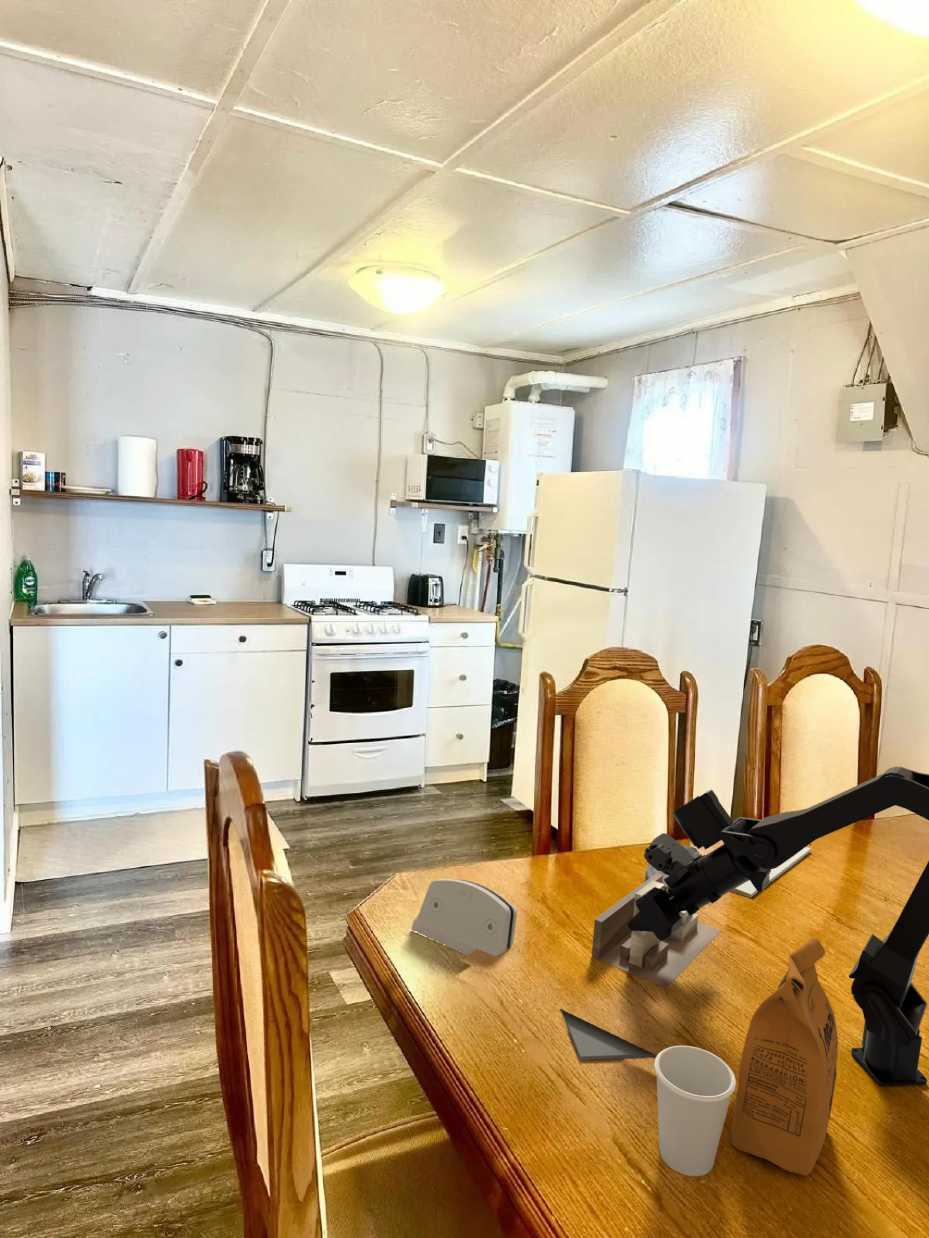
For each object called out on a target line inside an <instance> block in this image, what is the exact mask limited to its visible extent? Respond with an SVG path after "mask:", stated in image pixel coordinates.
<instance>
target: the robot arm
mask: <svg viewBox="0 0 929 1238" xmlns="http://www.w3.org/2000/svg"><path fill="white" fill-rule="evenodd" d="M892 807H900V808H902V809H905V810H906V811H907V810H908V811H909V812H912V813H913V814H915V815H917V816H919V817H921V818H923V819H925V820H927V821H929V773H925V772H923V773H922V772H918V771H915V770H912V769H908V768H906V767H903V766H893V767H890V768H888V769H886V770H885V771H884V772H882V773H881V774H879V775H877V776H875V777H872V778H870V779H868V780H866V781H864V782H862V783H860V784H858V785H856V786H855V785H854V786H853V787H851V788H849V789H847V790H844V791H843V792H840V793H838V794H836V795H834V796H831V797H830V798H827V799H824V800H822V801H821V802H818V803H817V804H814V805H812V806H810V807H807V808H804V809H800V810H792V811H785V812H781V813H776V814H773V815H770V816H765V817H764V818H762V819H757V818H749V817H743V816H739V817H737V818H736V819H734V820H733V819H732V817H731V816H730V814H729V813H728V812H727V811H726V809H725V808H724V806H723V805H722V804H721V801H720V800H719V798H718V796H717V794H715V792H714V791H713V789H709V790H707V791H706V792H704V793H703V794H701V795H697V796H696V797H694V798H693V799H691V800H690V801H688V802H687V803H684V804H683V805H682V806H680V807H679V808H677V809H676V810H674V811H672V812H671V815H672V816H673V817H674V819H675V820H676V823H678V825H679V826H680V828H681V829H682V830H683V833H685V835H686V836H687V838H688V839H689V841H690V842H691V843H692V845H693V847H695V848H696V849H697V850H700V849H701V848H704V850H707V849H709V848H711V847H713V846H714V845H716V844H717V843H719V842H721V841H722V843H723V844H722V845H719V847H717V848H715V849H713V850H712V851H710V852H709V853H707V854H704V855H703V854H701V853H700V855H699V856H697V857H693V856H692V855H691V854H690V853H689V852H688V851H687V849H685V848H684V847H683V846H684V845H682V844H681V843H679V842H678V841H677V840H676V839H675V838H673V837H672V836H671V835H670V834H668V833H664V832H662V833H661V834H659V835H658V836H656V837H655V838H653V840H652V841H651V843H650V845H649V846H648V847H646V848H645V849H644V853H643V858H644V859H645V861H646V862H647V864H650V865H651V866H653V867H654V868H655V869H656V870H657V871H662V872H663V873H664V874H666V875H669V876H668V877H666V878H665V879H664V881H665V882H666V884H667V885H668V887H667V889H666V890H665V891H664V890H662V889H659V888H656V887H654V888H652V889H651V890H649V891H647V892H646V893H644V894H643V895H642V896H640V897H639V898H638V899H637V900H635V902H636V906H637V908H638V909H639V912H638V913H637V914H636V915H635V916H634V917H633V918H632V920H631V921H630V922H629V923H628V924H627V925H628V927H629V929H630V930H631V931H649V932H653V933H654V934H655V936H656V937H657V939H659V940H661V941H662V940H664V939H665V938H667V937H669V936H671V935H672V934H673V933H674V932H675V931H676V930H677V929H679V928H680V927H681V920H682V917H681V916H680V914H679V913H680V912H681V911H687V912H688V914H689V915H690V916H691V915H693V914H697V912H698V911H700V910H701V908H703V907H705V906H707V905H708V904H714V903H716V902H718V900H720V899H721V898H722V897H723V896H724V895H726V894H728V893H729V892H731V890H733V889H735V888H737V887H738V886H740V885H742V884H744V883H745V882H747V881H749V880H750V881H751V883H752V884H753V886H754V887H755V888H756V890H757V891H758V893H762V892H763V891H764V889H766V888H767V887H768V885H770V883H769V882H770V881H769V874H770V872H771V869H774V868H777V867H779V866H780V865H781V864H783V863H784V862H786V861H787V860H789V859H790V858H791V857H793V856H794V855H796V854H797V853H798V852H800V851H801V850H802V849H804V848H805V847H808V846H810V845H809V844H810V843H811V844H812V843H813V842H814V841H816V840H818V839H821V838H824V837H826V836H827V835H830V834H832V833H834V832H835V833H836V832H837V831H840V830H841V829H844V828H846V827H849V826H850V825H853V824H855V823H857V822H859V821H862V820H864V819H867V818H869V817H871V816H874V815H875V814H876V815H877V814H878V813H880V812H883V811H885V810H888V809H890V808H892ZM899 914H900V915H899V916H898V918H897V919H896V922H895V924H894V925H893V928H892V929H891V931H890V932H889V933H888V934H887V935H886V937H884V938H883V939H882V940H881V939H880V938H879V937H877V936H876V935H875V934H874V933H873V934H871V935H870V936H869V939H868V941H867V942H866V944H865V946H864V947H863V949H862V951H861V954H860V955H859V957H858V959H857V961H856V962H855V964H854V966H853V968H852V969H851V971H850V973H849V975H848V978H849V979H853V981H852V983H851V986H850V994H851V996H852V997H853V1000H854V1001H855V1003H856V1004H857V1005H858V1007H859V1008H860V1009H861V1010H862V1011H861V1012H862V1015H863V1019H864V1026H863V1033H862V1039H861V1040H862V1041H861V1047H851V1048H850V1049H851V1050H850V1053H851V1054H852V1056H853V1057H854V1058H855V1059H856V1060H857V1061H858V1062H859V1064H861V1066H862V1067H863V1068H864V1069H865V1070H866V1071H867V1072H868V1074H869V1075H870V1076H871V1077H872V1078H873V1079H874V1081H875V1082H877V1083H878V1085H881V1086H883V1087H885V1086H886V1087H889V1086H905V1085H906V1086H908V1085H926V1084H928V1078H927V1077H926V1076H925V1075H924V1074H923V1073H922V1072H921V1071H920V1070H919V1062H920V1056H921V1055H920V1054H921V1048H922V1041H923V1037H922V1036H921V1035H920V1033H921V1031H920V1027H921V1024H922V1020H923V1018H924V1015H925V1012H926V1010H927V1007H928V1003H927V1001H926V1000H925V998H923V996H922V994H921V993H920V992H919V991H918V990H917V988H916V987H915V985H914V984H913V983H912V980H913V977H914V974H915V970H916V967H917V962H918V958H919V953H920V951H921V949H922V948H923V946H924V944H925V942H926V940H927V939H928V937H929V860H928V861H927V863H926V865H925V867H924V869H923V871H922V872H921V874H920V876H919V878H918V880H917V882H916V884H915V885H914V888H913V890H912V892H911V893H910V895H909V897H908V899H907V901H906V903H905V905H904V906H903V909H902V911H901V912H900V913H899Z"/></svg>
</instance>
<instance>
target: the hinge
mask: <svg viewBox="0 0 929 1238" xmlns="http://www.w3.org/2000/svg"><path fill="white" fill-rule="evenodd" d="M517 915H518V910H517V908H516V907H515V906H514V904H512V903H511V902H509V901H508V900H507V899H506V898H505V897H503V896H502V895H500V894H499V893H498V892H496V891H495V890H493V889H490V888H488V887H486V886H484V885H483V884H479V883H477V882H473V881H470V880H467V879H466V880H465V879H459V878H458V879H457V878H456V879H455V878H442V879H436V880H433V881H431V882H430V884H429V885H428V888H427V891H426V893H425V897H424V899H423V902H422V904H421V907H420V909H419V912H418V914H417V916H416V917H415V918H414V919H413V922H412V925H411V929H412V930H413V931H417V932H418V933H420V934H423V935H425V936H427V937H428V938H431V939H433V940H434V941H438V942H439V943H441V944H445V945H446V946H447V947H446V948H448V947H449V949H450V948H452V949H454V950H453V951H455V950H456V951H455V952H457V951H460V952H461V953H462V955H464V956H466V955H468V956H469V955H471V954H472V953H474V952H475V951H477V950H479V951H481V952H484V953H487V954H488V955H491V956H493V957H495V958H497V957H498V956H500V955H502V954H504V953H506V952H507V951H508V948H512V946H513V945H514V941H515V935H516V934H515V932H516V923H517V917H518V916H517ZM434 941H433V942H434ZM439 943H438V944H439ZM441 944H440V945H441ZM452 949H451V950H452ZM461 953H460V954H461Z"/></svg>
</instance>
